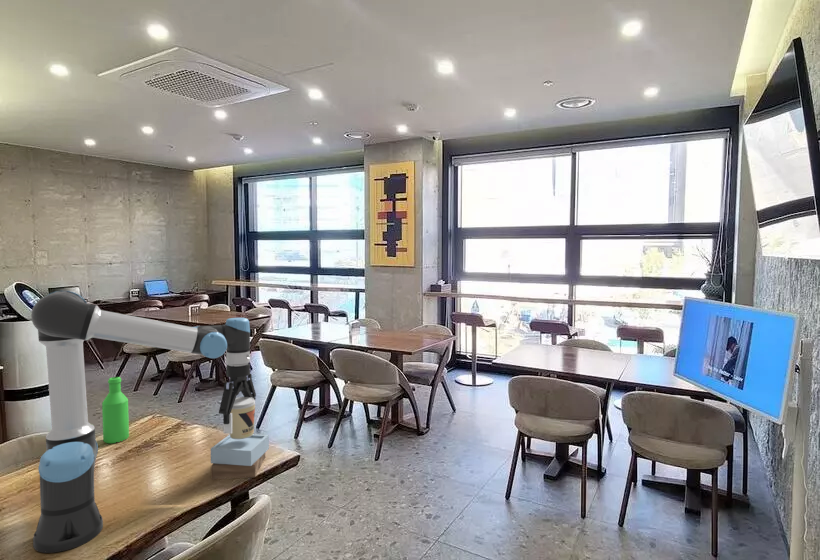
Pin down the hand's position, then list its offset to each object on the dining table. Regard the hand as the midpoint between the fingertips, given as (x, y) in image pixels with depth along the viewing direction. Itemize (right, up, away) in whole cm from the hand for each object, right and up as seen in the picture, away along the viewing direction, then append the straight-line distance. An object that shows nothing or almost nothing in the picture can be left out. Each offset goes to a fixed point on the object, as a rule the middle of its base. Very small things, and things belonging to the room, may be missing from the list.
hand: (238, 426), depth 161 cm
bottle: (-58, -14, +27) cm, 66 cm away
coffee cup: (0, -4, +3) cm, 5 cm away
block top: (0, -11, +2) cm, 11 cm away
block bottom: (0, -16, +2) cm, 16 cm away
